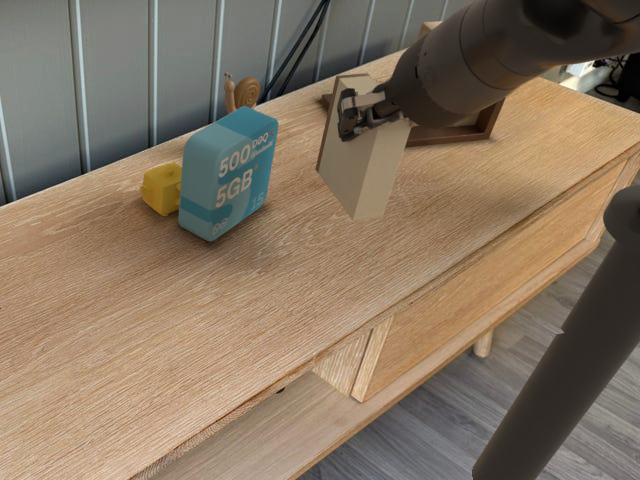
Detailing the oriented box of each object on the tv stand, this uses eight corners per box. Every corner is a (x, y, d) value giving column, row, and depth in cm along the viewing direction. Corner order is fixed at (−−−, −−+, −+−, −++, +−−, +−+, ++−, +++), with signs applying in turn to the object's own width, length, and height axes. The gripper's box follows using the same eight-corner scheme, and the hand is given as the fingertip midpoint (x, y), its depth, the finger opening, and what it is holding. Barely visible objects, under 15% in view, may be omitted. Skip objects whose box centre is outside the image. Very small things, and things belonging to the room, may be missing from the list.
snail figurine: (203, 152, 97) (211, 65, 88) (236, 138, 100) (247, 52, 91) (231, 169, 94) (242, 81, 85) (264, 154, 97) (278, 68, 88)
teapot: (156, 231, 84) (157, 193, 80) (128, 207, 87) (129, 170, 83) (208, 209, 87) (212, 173, 84) (180, 187, 91) (182, 151, 87)
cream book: (344, 166, 82) (367, 72, 74) (383, 217, 75) (414, 120, 67) (314, 169, 81) (335, 75, 73) (351, 221, 74) (379, 123, 66)
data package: (206, 247, 82) (216, 154, 74) (176, 230, 84) (183, 138, 76) (265, 204, 89) (281, 115, 80) (236, 190, 91) (249, 101, 82)
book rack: (437, 91, 112) (464, 12, 104) (488, 139, 103) (523, 56, 94) (320, 100, 109) (338, 19, 100) (362, 151, 99) (385, 66, 90)
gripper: (536, 12, 57) (418, 88, 74) (376, 22, 55) (292, 99, 72) (547, 105, 58) (427, 160, 75) (388, 120, 55) (302, 173, 72)
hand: (361, 130), depth 73 cm, fingers closed on cream book, 3 cm apart
